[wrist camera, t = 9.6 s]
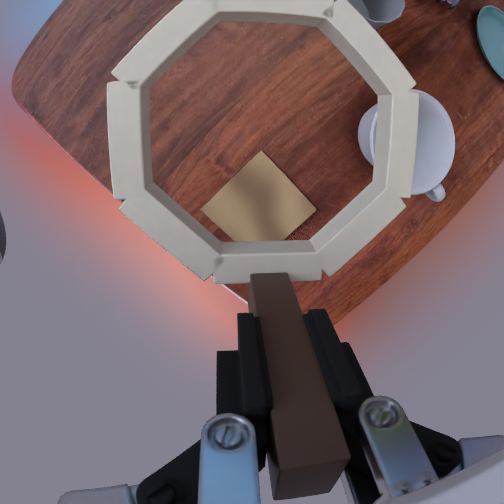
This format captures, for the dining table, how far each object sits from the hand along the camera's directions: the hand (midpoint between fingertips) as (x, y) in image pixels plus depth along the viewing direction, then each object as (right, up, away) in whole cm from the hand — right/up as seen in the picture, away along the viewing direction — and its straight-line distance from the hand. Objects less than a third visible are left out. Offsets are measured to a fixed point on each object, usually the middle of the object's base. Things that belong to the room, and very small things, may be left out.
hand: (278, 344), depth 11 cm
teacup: (+17, +18, +27) cm, 37 cm away
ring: (0, +8, +1) cm, 8 cm away
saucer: (+42, +40, +20) cm, 61 cm away
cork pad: (0, +9, +30) cm, 32 cm away
